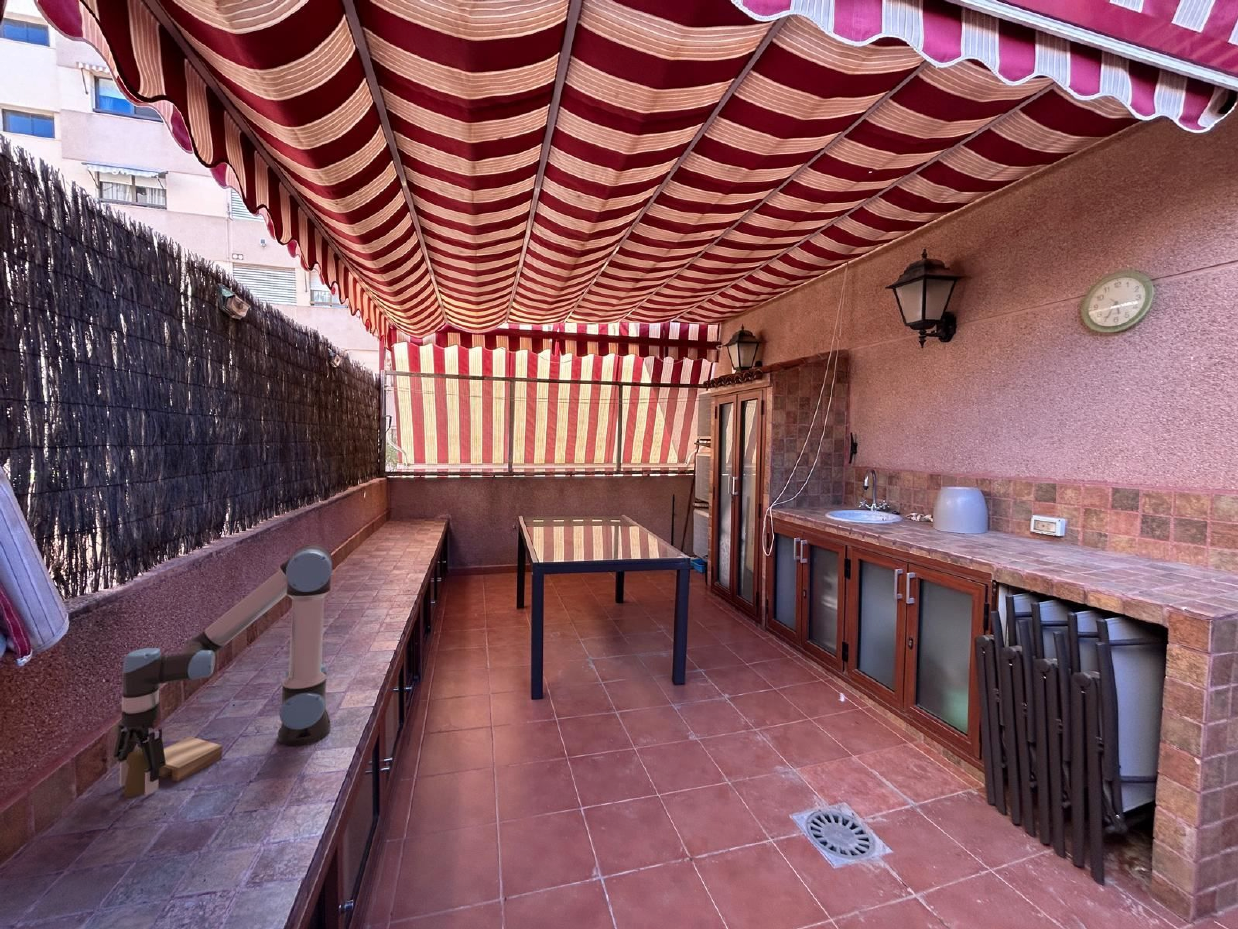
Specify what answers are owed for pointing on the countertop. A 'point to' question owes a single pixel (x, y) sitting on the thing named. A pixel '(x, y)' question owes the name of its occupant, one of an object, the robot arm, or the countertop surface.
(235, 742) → the countertop surface
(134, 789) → the cork
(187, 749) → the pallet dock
